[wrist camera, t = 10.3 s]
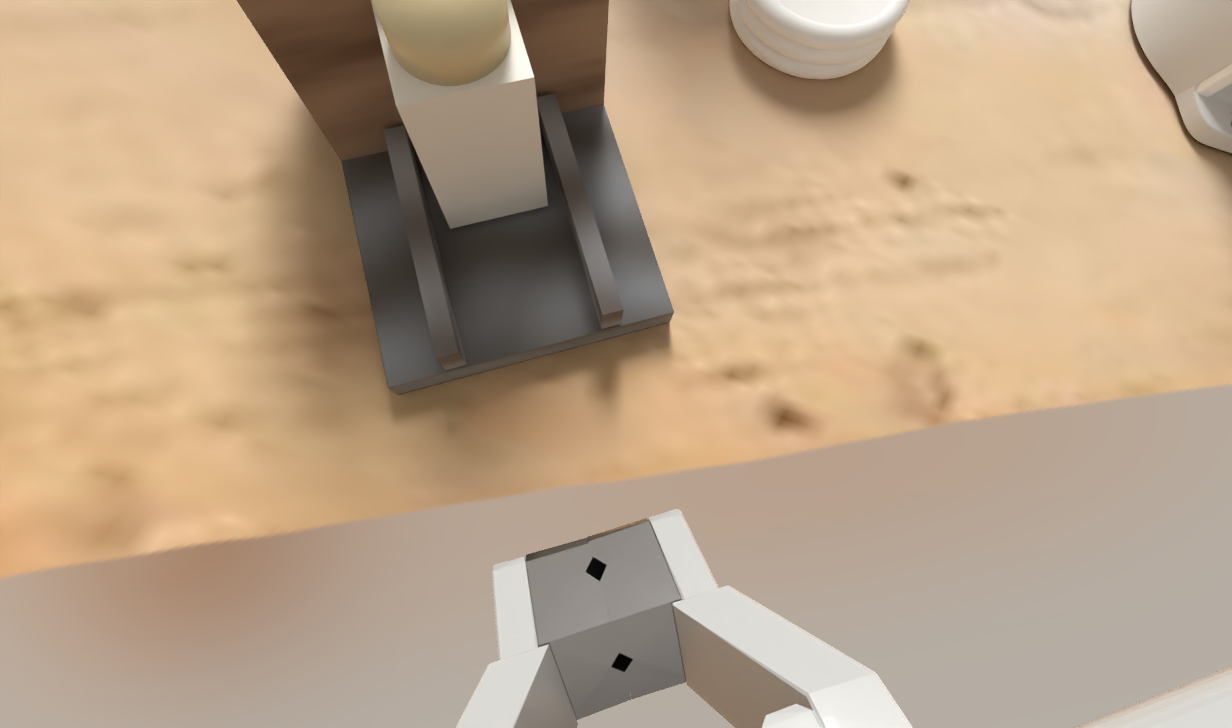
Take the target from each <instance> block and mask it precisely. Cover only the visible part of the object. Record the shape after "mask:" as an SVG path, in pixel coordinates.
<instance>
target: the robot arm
mask: <svg viewBox="0 0 1232 728" xmlns="http://www.w3.org/2000/svg"><path fill="white" fill-rule="evenodd" d="M1131 10H1132V20H1133V25H1134V29H1135V32H1136V35H1137V38H1138V41H1139V43H1140V45H1141V47H1142V49H1143V51H1144V53H1145V55H1146V56H1147V58H1148V60H1149V61H1150V63H1151V64H1152V66H1153V67H1154V68H1155V70H1156V71H1157V72H1158V73H1159V75H1160V76H1161V77H1162V79H1163V80H1164V81H1165V82H1166V84H1167V85H1168V86H1169V88H1170V89H1171V91H1172V92H1173V94H1174V96H1175V98H1176V101H1177V104H1178V107H1179V110H1180V113H1181V116H1182V119H1183V122H1184V124H1185V126H1186V128H1187V130H1188V131H1189V133H1190V134H1191V135H1192V136H1193V137H1194V138H1195V139H1196V140H1197V141H1199V142H1201V143H1203V144H1205V145H1208V146H1211V147H1214V148H1217V149H1220V150H1223V151H1226V152H1229V153H1232V0H1132V4H1131ZM492 584H493V597H494V608H495V621H496V634H497V647H498V661H495V662H492V663H490V664H488V666H487V668H486V670H485V672H484V674H483V675H482V677H481V680H480V681H479V683H478V685H477V687H476V689H475V691H474V693H473V695H472V697H471V699H470V701H469V703H468V704H467V706H466V708H465V710H464V712H463V714H462V716H461V718H460V720H459V722H458V724H457V726H456V728H577V725H578V723H577V720H578V719H581V718H583V717H586V716H589V715H591V714H594V713H596V712H599V711H602V710H604V709H607V708H610V707H612V706H615V705H618V704H620V703H623V702H626V701H628V700H631V699H634V698H637V697H640V696H643V695H647V694H650V693H653V692H656V691H659V690H663V689H666V688H669V687H672V686H675V685H678V684H682V683H684V682H687V685H688V686H689V687H690V688H691V689H693V691H695V692H696V693H697V694H698V695H699V696H700V697H701V698H703V699H704V700H705V701H706V702H707V703H708V704H709V705H710V706H712V707H713V708H714V709H715V710H716V711H717V712H718V713H720V714H721V715H722V716H723V717H724V718H725V719H726V720H727V721H728V722H730V723H731V724H732V725H733V726H734V727H735V728H913V727H912V726H911V724H910V723H909V721H908V720H907V718H906V717H905V715H904V714H903V712H902V711H901V709H900V708H899V706H898V705H897V703H896V702H895V701H894V699H893V697H892V696H891V694H890V693H889V692H888V690H887V688H886V687H885V685H884V684H883V682H882V681H881V680H880V678H879V676H878V675H877V674H876V673H875V672H874V671H872V670H870V669H868V668H867V667H865V666H864V665H862V664H860V663H859V662H857V661H855V660H853V659H852V658H850V657H848V656H847V655H845V654H843V653H842V652H840V651H838V650H837V649H835V648H833V647H832V646H830V645H828V644H827V643H825V642H823V641H822V640H820V639H818V638H816V637H815V636H813V635H811V634H810V633H808V632H806V631H805V630H803V629H801V628H800V627H798V626H796V625H795V624H793V623H791V622H789V621H788V620H786V619H784V618H783V617H781V616H779V615H778V614H776V613H774V612H773V611H771V610H769V609H767V608H766V607H764V606H762V605H761V604H759V603H757V602H756V601H754V600H752V599H751V598H749V597H747V596H746V595H744V594H742V593H740V592H739V591H737V590H736V589H734V588H732V587H730V586H729V585H727V586H724V587H721V588H719V587H718V585H717V583H716V581H715V579H714V577H713V575H712V573H711V571H710V569H709V567H708V565H707V563H706V561H705V559H704V557H703V555H702V553H701V551H700V549H699V547H698V545H697V542H696V541H695V538H694V536H693V534H692V533H691V530H690V528H689V526H688V524H687V522H686V520H685V518H684V516H683V514H682V512H681V511H679V510H678V509H674V510H671V511H668V512H665V513H662V514H658V515H655V516H652V517H649V518H648V520H647V519H642V520H640V521H636V522H633V523H630V524H627V525H624V526H620V527H617V528H614V529H611V530H608V531H605V532H602V533H598V534H595V535H592V536H589V537H587V538H585V539H581V540H578V541H574V542H570V543H567V544H563V545H560V546H556V547H553V548H549V549H546V550H542V551H538V552H535V553H531V554H528V555H526V556H523V557H520V558H516V559H512V560H509V561H505V562H502V563H498V564H495V565H493V570H492ZM630 694H631V695H630ZM1074 728H1232V666H1231V667H1228V668H1226V669H1223V670H1221V671H1218V672H1216V673H1213V674H1210V675H1208V676H1205V677H1202V678H1200V679H1197V680H1195V681H1192V682H1190V683H1187V684H1185V685H1182V686H1179V687H1177V688H1174V689H1172V690H1169V691H1167V692H1164V693H1161V694H1159V695H1156V696H1154V697H1151V698H1148V699H1146V700H1143V701H1141V702H1138V703H1136V704H1133V705H1131V706H1128V707H1125V708H1123V709H1120V710H1118V711H1115V712H1113V713H1110V714H1107V715H1105V716H1102V717H1100V718H1097V719H1095V720H1092V721H1090V722H1087V723H1084V724H1082V725H1079V726H1077V727H1074Z"/></svg>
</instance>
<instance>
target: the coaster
mask: <svg viewBox="0 0 1232 728" xmlns="http://www.w3.org/2000/svg"><path fill="white" fill-rule="evenodd" d="M908 3H909V0H729V7H730V15H731V20H732V23H733V26H734V29H735V31H736V32H737V34H738V36H739V38H740V39H741V41H742V42H743V43H744V45H745V46H746V47H747V48H748V49H749V50H750V51H751V52H752V53H753V54H754V55H755V56H756V57H758V58H759V59H760V60H762V61H763V62H765V63H766V64H768V65H769V66H771V67H773V68H775V69H777V70H779V71H781V72H784V73H786V74H789V75H793V76H796V77H801V78H806V79H831V78H838V77H841V76H845V75H848V74H850V73H853V72H855V71H857V70H859V69H860V68H862V67H864V66H865V65H866V64H867V63H869V62H870V61H871V60H872V59H873V58H875V57H876V55H877V54H878V53H879V52H880V51H881V49H882V48H883V46H884V45H885V43H886V41H887V39H888V38H889V36H890V35H891V33H892V32H893V30H894V29H895V27H896V24H897V23H898V22H899V20H900V19H901V18H902V16H903V14H904V13H905V11H906V8H907V6H908Z"/></svg>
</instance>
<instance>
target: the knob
mask: <svg viewBox="0 0 1232 728" xmlns="http://www.w3.org/2000/svg"><path fill="white" fill-rule="evenodd" d="M371 3H372V7H373V12H374V16H375V20H376V24H377V28H378V33H379V37H380V41H381V45H382V49H383V54H384V58H385V62H386V66H387V70H388V75H389V79H390V83H391V87H392V91H393V96H394V100H395V104H396V107H397V109H398V112H399V114H400V116H401V118H402V121H403V123H404V125H405V128H406V130H407V132H408V134H409V137H410V139H411V141H412V143H413V146H414V148H415V150H416V152H417V155H418V157H419V159H420V162H421V164H422V166H423V168H424V171H425V173H426V175H427V177H428V180H429V182H430V184H431V187H432V189H433V191H434V193H435V196H436V198H437V200H438V202H439V205H440V207H441V209H442V211H443V214H444V216H445V218H446V221H447V223H448V225H449V227H450V229H452V228H456V227H460V226H465V225H469V224H473V223H477V222H482V221H486V220H490V219H495V218H499V217H503V216H507V215H512V214H516V213H520V212H524V211H529V210H533V209H537V208H541V207H546V206H548V201H547V191H546V182H545V173H544V163H543V154H542V144H541V135H540V126H539V116H538V107H537V97H536V88H535V79H534V75H533V71H532V68H531V65H530V62H529V58H528V55H527V52H526V49H525V45H524V42H523V39H522V36H521V33H520V29H519V26H518V23H517V20H516V16H515V13H514V10H513V7H512V3H511V0H371Z"/></svg>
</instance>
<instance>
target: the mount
mask: <svg viewBox="0 0 1232 728" xmlns="http://www.w3.org/2000/svg"><path fill="white" fill-rule="evenodd" d="M237 2H238V3H239V5H240V6H241V8H242V9H243V11H244V12H245V14H246V15H247V17H248V18H249V20H250V21H251V23H252V25H253V26H254V28H255V29H256V31H257V32H258V34H259V35H260V37H261V38H262V40H263V41H264V43H265V44H266V46H267V47H268V49H269V51H270V52H271V54H272V55H273V57H274V58H275V60H276V61H277V63H278V64H279V66H280V67H281V69H282V70H283V72H284V73H285V75H286V77H287V78H288V80H289V81H290V83H291V84H292V86H293V87H294V89H295V90H296V92H297V93H298V95H299V96H300V98H301V99H302V101H303V103H304V104H305V106H306V107H307V109H308V110H309V112H310V113H311V115H312V116H313V118H314V119H315V121H316V122H317V124H318V125H319V127H320V129H321V130H322V132H323V133H324V135H325V136H326V138H327V139H328V141H329V142H330V144H331V145H332V147H333V148H334V150H335V151H336V153H337V155H338V156H339V158H340V159H341V161H342V165H343V170H344V175H345V180H346V184H347V189H348V194H349V199H350V204H351V209H352V213H353V218H354V223H355V228H356V233H357V238H358V242H359V247H360V252H361V257H362V262H363V267H364V271H365V276H366V281H367V286H368V291H369V296H370V301H371V305H372V310H373V315H374V320H375V325H376V330H377V334H378V339H379V344H380V349H381V354H382V359H383V363H384V368H385V373H386V378H387V383H388V388H390V389H391V390H393V391H394V392H395V393H397V394H402V393H405V392H409V391H413V390H417V389H420V388H424V387H428V386H432V385H435V384H439V383H443V382H447V381H450V380H454V379H458V378H462V377H465V376H469V375H473V374H477V373H480V372H484V371H488V370H492V369H495V368H499V367H503V366H507V365H510V364H514V363H518V362H522V361H525V360H529V359H533V358H537V357H540V356H544V355H548V354H552V353H555V352H559V351H563V350H567V349H570V348H574V347H578V346H582V345H585V344H589V343H593V342H597V341H600V340H604V339H608V338H612V337H615V336H619V335H623V334H627V333H630V332H634V331H638V330H642V329H645V328H649V327H653V326H657V325H660V324H664V323H668V322H670V320H671V318H672V315H673V313H674V311H673V308H672V305H671V302H670V299H669V296H668V293H667V290H666V287H665V284H664V281H663V278H662V275H661V273H660V270H659V267H658V264H657V261H656V258H655V255H654V252H653V249H652V246H651V243H650V240H649V237H648V234H647V231H646V228H645V225H644V222H643V219H642V216H641V213H640V211H639V208H638V205H637V202H636V199H635V196H634V193H633V190H632V187H631V184H630V181H629V178H628V175H627V172H626V169H625V166H624V163H623V160H622V157H621V154H620V152H619V149H618V146H617V143H616V140H615V137H614V134H613V131H612V128H611V125H610V122H609V119H608V116H607V113H606V110H605V107H604V85H605V65H606V45H607V25H608V5H609V0H511V3H512V7H513V10H514V13H515V16H516V20H517V23H518V26H519V29H520V33H521V36H522V39H523V42H524V45H525V49H526V52H527V55H528V58H529V62H530V65H531V68H532V71H533V75H534V79H535V88H536V97H537V107H538V116H539V126H540V135H541V144H542V154H543V163H544V173H545V182H546V191H547V201H548V206H546V207H541V208H537V209H533V210H529V211H524V212H520V213H516V214H512V215H507V216H503V217H499V218H495V219H490V220H486V221H482V222H477V223H473V224H469V225H465V226H460V227H456V228H452V229H450V227H449V225H448V223H447V221H446V218H445V216H444V214H443V211H442V209H441V207H440V205H439V202H438V200H437V198H436V196H435V193H434V191H433V189H432V187H431V184H430V182H429V180H428V177H427V175H426V173H425V171H424V168H423V166H422V164H421V162H420V159H419V157H418V155H417V152H416V150H415V148H414V146H413V143H412V141H411V139H410V137H409V134H408V132H407V130H406V128H405V125H404V123H403V121H402V118H401V116H400V114H399V112H398V109H397V107H396V104H395V100H394V96H393V91H392V87H391V83H390V79H389V75H388V70H387V66H386V62H385V58H384V54H383V49H382V45H381V41H380V37H379V33H378V28H377V24H376V20H375V16H374V12H373V7H372V3H371V0H237Z"/></svg>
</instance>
